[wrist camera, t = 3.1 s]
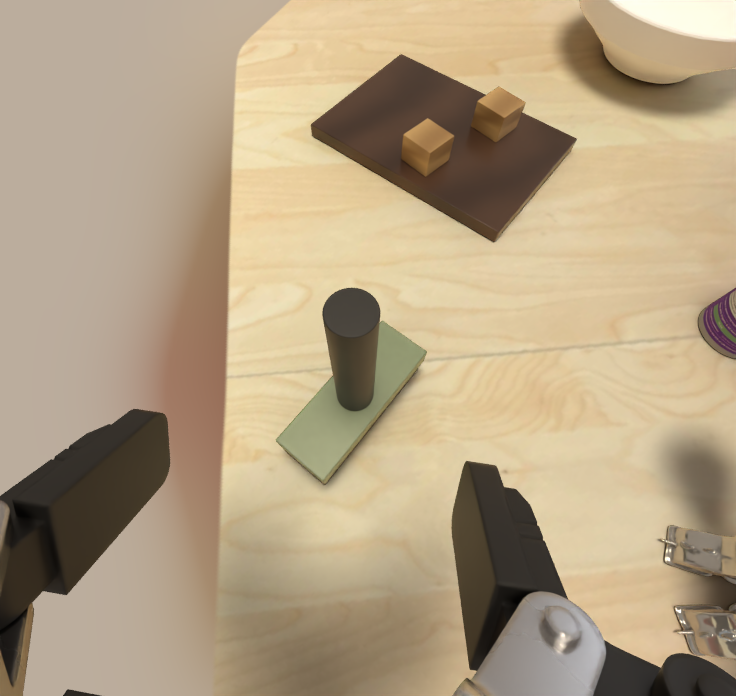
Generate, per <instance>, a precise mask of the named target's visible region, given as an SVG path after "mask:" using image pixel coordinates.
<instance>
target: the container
mask: <svg viewBox="0 0 736 696" xmlns="http://www.w3.org/2000/svg"><path fill="white" fill-rule="evenodd" d="M698 324H699V329H700V331H701V334H702V335H703V337H704V339H705V340H706V341H707V342H708V343H709V345H711V346H712V347H713V348H714V349H715V350H717V351H718V352H720V353H721V354H723V355H725V356H728V357H731V358H734V359H736V288H735V289H733V290H732V291H730V292H729V293H727V294H726V295H724V296H722V297H721V298H719V299H718V300H716V301H715V302H713V303H712V304H710V305H709V306H708V307H706V308H705V309H704V310H703V311H702V312H701V313H700V316H699V320H698Z"/></svg>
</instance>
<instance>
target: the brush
mask: <svg viewBox="0 0 736 696" xmlns="http://www.w3.org/2000/svg"><path fill="white" fill-rule="evenodd" d="M323 321H324V327H325V332H326V338H327V344H328V349H329V355H330V360H331V366H332V372H333V376H332V377H331V378H330V380H329V381H328V382H327V383H326V384H325V385H324V386H323V387H322V389H321V390H320V391H319V392H318V393H317V394H316V395H315V396H314V398H313V399H312V400H311V401H310V402H309V403H308V404H307V405H306V407H305V408H304V409H303V410H302V411H301V412H300V413H299V414H298V416H297V417H296V418H295V419H294V420H293V421H292V422H291V423H290V424H289V426H288V427H287V428H286V429H285V430H284V431H283V432H282V433H281V435H280V436H279V437H278V438H277V439H276V442H277V443H278V444H279V445H280V446H281V447H282V448H283V449H284V450H285V451H286V452H287V453H288V454H289V455H290V456H291V457H293V458H294V459H295V460H296V461H297V462H298V463H299V464H301V465H302V466H303V467H304V468H305V469H306V470H308V471H309V472H310V473H311V474H312V475H313V476H315V477H316V478H317V479H318V480H319V481H320V482H321V483H323V484H324V485H325V484H326V483H327V482H328V481H329V479H330V478H331V477H332V476H333V474H334V473H335V472H336V471H337V469H338V468H339V467H340V466H341V464H342V463H343V462H344V461H345V459H346V458H347V457H348V456H349V454H350V453H351V452H352V451H353V449H354V448H355V447H356V446H357V444H358V443H359V442H360V441H361V439H362V438H363V437H364V436H365V434H366V433H367V432H368V431H369V429H370V428H371V427H372V426H373V424H374V423H375V422H376V421H377V419H378V418H379V417H380V416H381V414H382V413H383V412H384V411H385V409H386V408H387V407H388V406H389V404H390V403H391V402H392V401H393V399H394V398H395V397H396V396H397V394H398V393H399V392H400V391H401V389H402V388H403V387H404V386H405V384H406V383H407V382H408V381H409V379H410V378H411V377H412V376H413V374H414V373H415V372H416V371H417V369H418V367H419V366H420V365H421V363H422V362H423V361H424V359H425V356H426V353H427V352H426V351H425V350H424V349H422V348H421V347H419V346H418V345H417V344H415V343H414V342H412V341H411V340H409V339H408V338H407V337H405V336H404V335H402V334H401V333H399V332H398V331H396V330H395V329H394V328H392V327H391V326H389V325H388V324H386V323H385V322H384V321H381V322H380V307H379V304H378V302H377V301H376V299H375V298H374V297H373V296H372V295H371V294H370V293H368V292H366V291H364V290H362V289H358V288H346V289H342V290H339V291H337V292H335V293H334V294H332V295H331V296H330V297H329V298H328V299H327V301H326V302H325V304H324V307H323Z"/></svg>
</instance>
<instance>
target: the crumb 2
mask: <svg viewBox="0 0 736 696" xmlns="http://www.w3.org/2000/svg"><path fill="white" fill-rule="evenodd" d="M525 103H526V102H524V101H522V100H521V99H519V98H517V97H516V96H514V95H512V94H511V93H509V92H507V91H506V90H504V89H502V88H501V87H497V88H496V89H494V90H493V91H491V92H490V93H489V94H487V95H486V96H484V97H483V98H481V99H480V100H478V101H477V105H476V109H475V112H474V116H473V120H472V124H471V127H473V128H475V129H476V130H478V131H479V132H481V133H482V134H484V135H485V136H487V137H488V138H490V139H491V140H493V141H494V142H497V141H499V140H500V139H501V138H503V137H504V136H505V135H507V134H508V133H509V132H511V131H512V130H513V129H515V128H516V127H517V124H518V122H519V119H520V116H521V114H522V111H523V108H524V106H525Z"/></svg>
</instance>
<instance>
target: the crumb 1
mask: <svg viewBox="0 0 736 696" xmlns="http://www.w3.org/2000/svg"><path fill="white" fill-rule="evenodd" d="M453 140H454V135H452V134H451V133H449V132H448V131H446V130H445V129H443V128H442V127H440V126H439V125H437V124H436V123H434V122H433V121H431V120H430V119H428V118H427V119H426V120H424V121H423V122H421V123H420V124H418V125H417V126H415V127H414V128H412V129H411V130H409V131H408V132H406V133H405V134H404V135H403V143H402V153H401V159H402V160H403V161H405V162H406V163H407V164H409V165H410V166H411V167H413V168H414V169H416V170H417V171H418V172H420V173H421V174H422V175H424V176H425V177H426V176H428V175H429V174H430V173H432V172H433V171H435V170H436V169H437V168H439V167H440V166H441V165H443V164H444V163H445V162H447V161H448V160H449V157H450V152H451V148H452V144H453Z"/></svg>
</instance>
